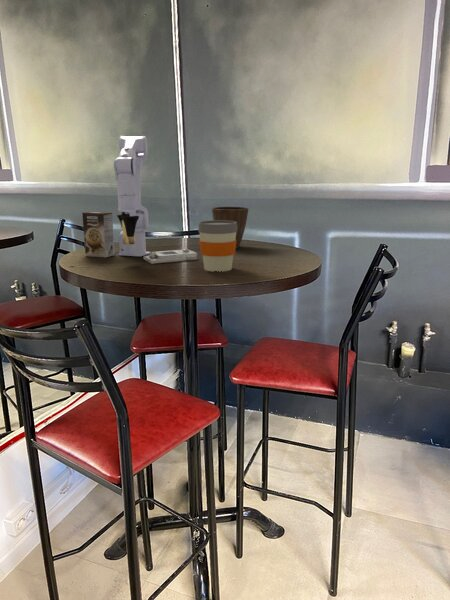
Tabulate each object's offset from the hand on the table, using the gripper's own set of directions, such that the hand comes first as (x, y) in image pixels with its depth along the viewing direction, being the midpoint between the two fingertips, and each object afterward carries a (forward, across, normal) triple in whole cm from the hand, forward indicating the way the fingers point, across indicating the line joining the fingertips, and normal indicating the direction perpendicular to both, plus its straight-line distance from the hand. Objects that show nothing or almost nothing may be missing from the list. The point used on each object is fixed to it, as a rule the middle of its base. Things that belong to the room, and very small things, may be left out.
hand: (128, 235), depth 160 cm
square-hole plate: (+9, 0, -14) cm, 17 cm away
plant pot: (+10, +15, -46) cm, 49 cm away
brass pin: (+3, 0, 0) cm, 3 cm away
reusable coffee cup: (+10, -22, -23) cm, 33 cm away
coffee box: (+10, +19, +6) cm, 22 cm away
